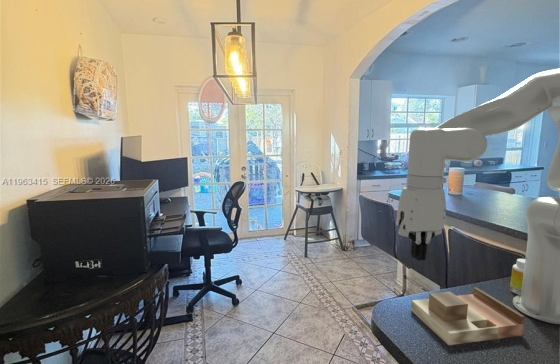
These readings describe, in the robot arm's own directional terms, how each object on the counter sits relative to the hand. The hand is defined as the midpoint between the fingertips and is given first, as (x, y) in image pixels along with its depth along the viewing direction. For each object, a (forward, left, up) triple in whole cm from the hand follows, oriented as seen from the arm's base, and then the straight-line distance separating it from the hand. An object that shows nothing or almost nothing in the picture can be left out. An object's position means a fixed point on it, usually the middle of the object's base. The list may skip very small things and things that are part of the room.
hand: (418, 258), depth 71 cm
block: (-8, +5, -15) cm, 18 cm away
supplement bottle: (-42, +13, -19) cm, 48 cm away
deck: (-12, +7, -18) cm, 23 cm away
